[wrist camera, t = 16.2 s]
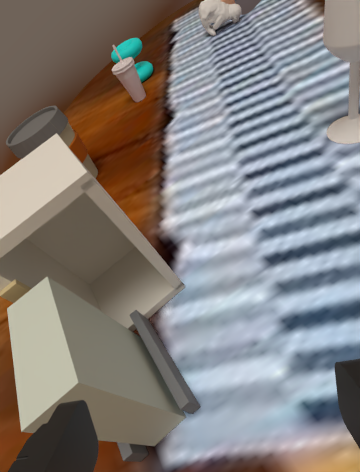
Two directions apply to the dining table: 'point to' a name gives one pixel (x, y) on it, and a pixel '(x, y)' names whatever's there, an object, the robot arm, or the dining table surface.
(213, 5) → the white lumpy piece
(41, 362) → the door panel
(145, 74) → the donuts
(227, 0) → the salt shaker
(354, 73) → the champagne flute
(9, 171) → the hinge cabinet
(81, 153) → the reusable coffee cup
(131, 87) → the smoothie
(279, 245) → the dining table surface
